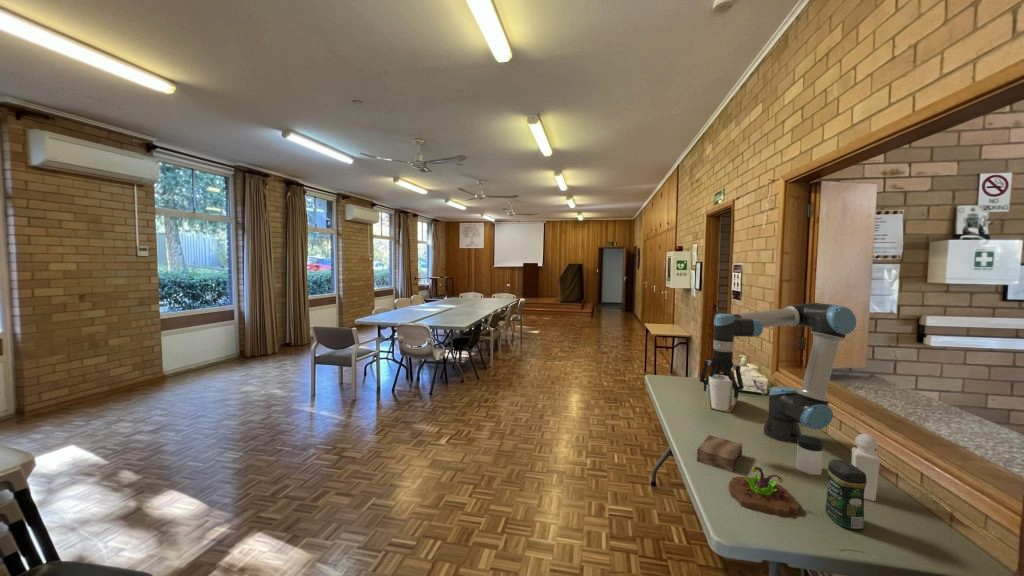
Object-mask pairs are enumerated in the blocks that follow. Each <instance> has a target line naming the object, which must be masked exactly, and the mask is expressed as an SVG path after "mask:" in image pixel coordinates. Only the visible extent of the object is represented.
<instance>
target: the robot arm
mask: <svg viewBox="0 0 1024 576" xmlns="http://www.w3.org/2000/svg"><path fill="white" fill-rule="evenodd" d="M780 326H789V327H803V328H805V327H806V328H810V329H811V331H810V332H811V334H812V335H813V340H812V345H811V349H810V353H809V357H808V361H807V365H806V368H805V374H804V377H803V381H802V385H801V388H800V389H798V388H795V387H791V386H790V387H788V386H772V387H770V389H769V394H768V416H767V420H766V421H765V423H764V425H763V434H764V435H766V436H767V437H769V438H771V439H775V440H777V441H781V442H788V443H797V438H798V437H799V436H803V432H802V430H801V426H800V425H799V424H801V425H802V426H804V427H805V428H810V429H812V430H822V429H824V428H826V427H828V426H829V425H830V423H832V420H833V417H834V413H833V410H832V408H831V407H829V403H830V400H829V398H828V397H827V391H828V386H829V384H830V381H831V380H830V379H831V376H832V373H833V368H834V364H835V360H836V356H837V352H838V347H839V344H840V342H841V341H843V340H845V338H846V335H849V334H851V333H852V332H854V331H855V328H856V327H857V317H856V315H855V314H854V313H853V310H851V309H850V308H848V307H846V306H842V305H838V304H829V303H819V302H809V303H808V302H807V303H801V304H794V305H788V306H785V307H784V308H780V309H770V310H769V309H768V310H762V311H752V312H743V313H742V312H741V313H736V314H731V313H717V314H715V315H714V319H713V339H712V341H713V345H712V348H713V350H712V361H711V360H708V359H706V360H704V362H703V365H704V367H703V368H702V372H701V374H700V377H699V382H700V383H702V384H703V392H705V400H706V401H708V400H710V384H709V376H711V377H713V375H714V374H715V373H716V371H718V372H723V373H726V374H727V375H728V377H729V380H731V381H732V386H733V388H734V389H733V390H732V402H731V405H732V406H734V405H735V406H736V404H735V398H737V397H739V391H743V389H744V388H745V385H744V383H743V377H742V373H741V367H742V366H741V365H740V364H738V365H737V364H734V362H733V359H734V358H733V357H734V351H733V350H734V340H735V339H734V338H735V337H736V338H737V337H750V338H754V337H755V338H756V337H759V336H761V335H762V334H763V331H764V329H763V328H770V327H780ZM711 364H712V365H713V367H714V368H713V370H712V369H711V372H710V373H708V369H709V366H711ZM730 369H731V370H730ZM732 369H733V370H735V377H736V378H735V379H734V377H733V375H732V372H731V371H732ZM707 373H708V374H709V376H708V375H707ZM706 375H707V377H706ZM735 380H736V381H735ZM735 406H734V407H735Z"/></svg>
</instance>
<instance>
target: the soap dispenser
mask: <svg viewBox="0 0 1024 576" xmlns="http://www.w3.org/2000/svg"><path fill="white" fill-rule="evenodd" d="M854 443H855V445H856V447H855V446H854V447H852V448H851V464H852V465H854V466H855V467H857V468H858V469H860V470H861V471H862V472H864V473H865V474H866V481H867V482H866V483H867V484H866V487H865V490H864V500H867V501H872V502H876V500H877V499H876V498H877V492H878V491H877V489H878V481H879V473H880V464H881V458H880V457H879V456H878V454H877V452H876V451H875V450H876V449H877V448H878V447H879V445H878V442H877V440H876V439H875V437H873V435H871V434H868V433H860V434H858V435H857V436H856V438H855V439H854Z"/></svg>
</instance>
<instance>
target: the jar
mask: <svg viewBox="0 0 1024 576" xmlns="http://www.w3.org/2000/svg"><path fill="white" fill-rule="evenodd" d="M823 449H824V443H823V441H822V440H820V439H818V438H816V437H812V436H808V435H802V436H799V437H798V438H797V442H796V460H795V461H796V463H795V464H796V465H795V466H796V469H797V470H798V471H800V472H803V473H805V474H808V475H811V476H812V475H815V476H820V475H821V476H822V471H823V453H824V452H823V451H824V450H823Z"/></svg>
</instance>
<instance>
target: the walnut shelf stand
mask: <svg viewBox="0 0 1024 576" xmlns="http://www.w3.org/2000/svg"><path fill="white" fill-rule="evenodd" d="M696 452H697V454H696V462H699V463H701V464H705V465H708V466H711V465H712V466H711V467H714V466H715V468H718V469H721V468H722V469H721V470H724V469H725V471H727V470H728V471H727V472H731V471H733V472H734V462H735V460H736V458H737V457H742V456H743V443H740V442H737V441H733V440H729V439H727V438H726V439H725V438H722V437H719V436H715V435H710V434H709V435H708V436H707V437H706V438H705V440H704V441H703V442H702V443H701V444H700V446H698V448H697V451H696ZM737 455H739V456H737Z"/></svg>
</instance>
